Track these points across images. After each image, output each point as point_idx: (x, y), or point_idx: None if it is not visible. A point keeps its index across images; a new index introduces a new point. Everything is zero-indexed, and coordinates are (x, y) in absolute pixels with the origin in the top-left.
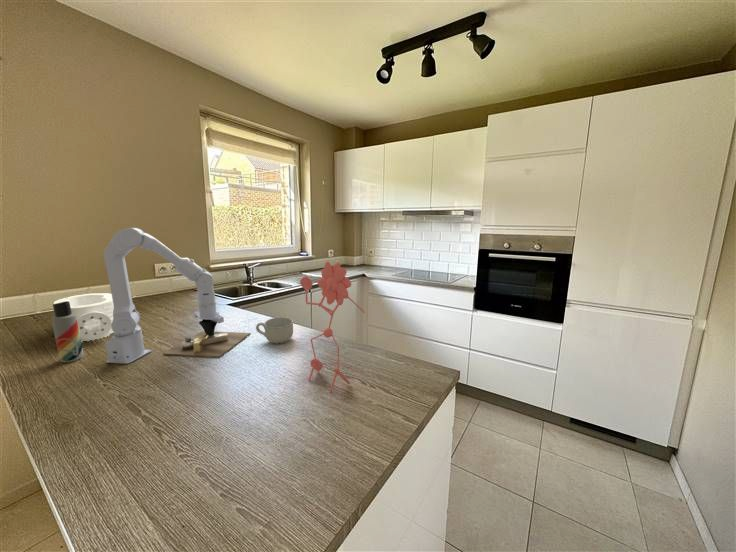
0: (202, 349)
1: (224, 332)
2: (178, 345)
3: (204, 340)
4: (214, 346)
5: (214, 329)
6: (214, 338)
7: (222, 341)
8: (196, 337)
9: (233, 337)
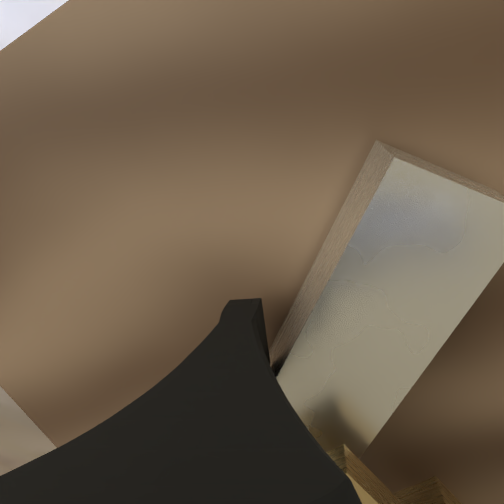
0: (439, 485)
1: (106, 12)
2: None
3: None
4: (475, 383)
5: (264, 356)
6: (405, 376)
7: None
8: (22, 338)
9: (466, 59)
